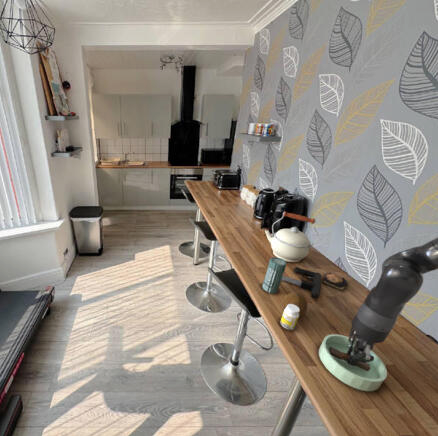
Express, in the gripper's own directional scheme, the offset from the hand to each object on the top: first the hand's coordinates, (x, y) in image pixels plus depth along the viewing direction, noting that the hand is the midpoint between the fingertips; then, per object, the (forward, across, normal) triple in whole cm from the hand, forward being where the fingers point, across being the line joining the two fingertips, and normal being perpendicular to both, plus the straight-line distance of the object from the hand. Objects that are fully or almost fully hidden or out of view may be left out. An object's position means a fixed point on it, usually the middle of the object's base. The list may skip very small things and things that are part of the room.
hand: (350, 360), depth 73 cm
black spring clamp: (+2, +40, +11) cm, 42 cm away
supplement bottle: (+2, +8, +17) cm, 19 cm away
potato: (+2, +17, +15) cm, 23 cm away
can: (+2, +27, +24) cm, 36 cm away
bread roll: (+2, +49, -3) cm, 49 cm away
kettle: (+2, +64, +19) cm, 67 cm away
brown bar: (0, 0, 0) cm, 0 cm away
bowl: (+2, 0, 0) cm, 2 cm away
